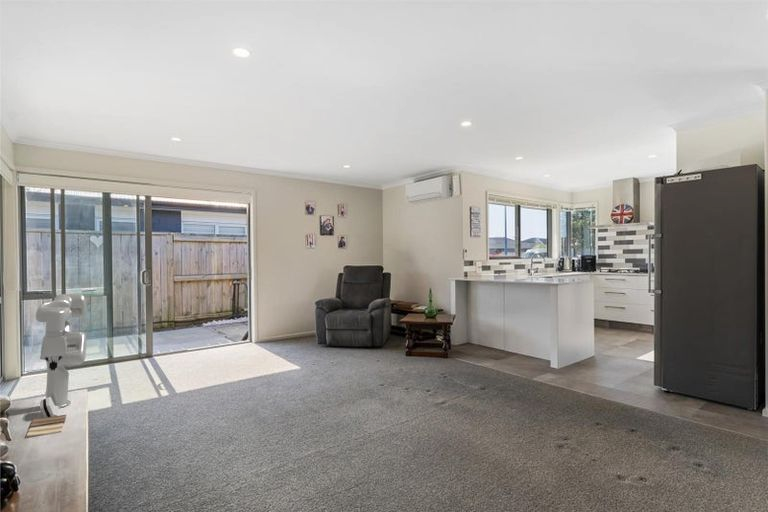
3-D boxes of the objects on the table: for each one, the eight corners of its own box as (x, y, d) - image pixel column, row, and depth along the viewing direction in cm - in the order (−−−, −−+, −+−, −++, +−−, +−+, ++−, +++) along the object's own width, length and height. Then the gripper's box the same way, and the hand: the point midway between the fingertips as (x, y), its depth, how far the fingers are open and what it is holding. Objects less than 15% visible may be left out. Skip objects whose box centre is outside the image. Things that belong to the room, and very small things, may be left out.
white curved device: (58, 418, 202) (50, 401, 201) (46, 423, 199) (38, 406, 198) (59, 408, 215) (52, 392, 214) (48, 413, 213) (41, 397, 211)
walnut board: (33, 422, 196) (33, 418, 196) (66, 417, 203) (66, 413, 204) (29, 430, 187) (29, 426, 187) (64, 425, 194) (64, 421, 194)
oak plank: (30, 431, 186) (30, 427, 186) (63, 425, 193) (63, 422, 193) (26, 439, 177) (26, 436, 177) (61, 433, 184) (61, 430, 184)
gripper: (74, 331, 205) (72, 366, 205) (36, 333, 196) (34, 369, 196) (73, 334, 199) (71, 369, 199) (34, 336, 190) (32, 373, 190)
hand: (53, 369), depth 197 cm, fingers closed
